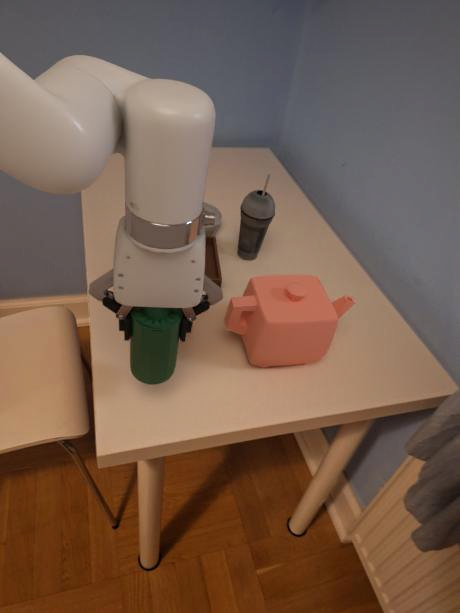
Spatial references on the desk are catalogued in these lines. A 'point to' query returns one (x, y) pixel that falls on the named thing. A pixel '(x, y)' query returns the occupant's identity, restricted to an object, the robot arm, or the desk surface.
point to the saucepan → (218, 217)
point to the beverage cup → (255, 222)
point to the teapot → (285, 319)
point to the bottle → (154, 343)
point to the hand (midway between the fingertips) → (155, 332)
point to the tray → (212, 261)
